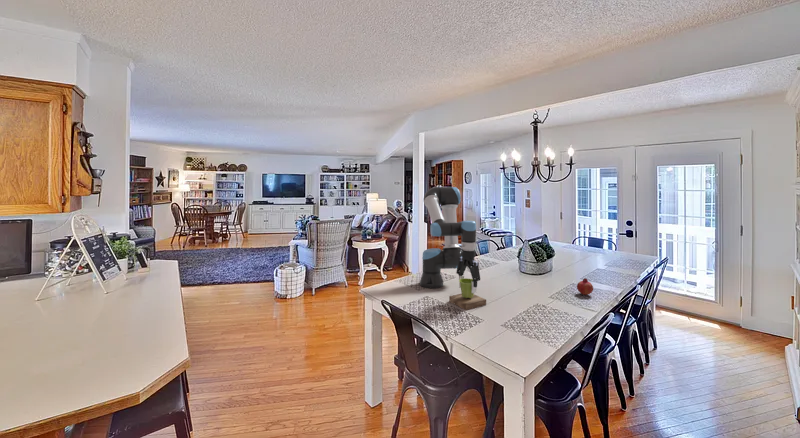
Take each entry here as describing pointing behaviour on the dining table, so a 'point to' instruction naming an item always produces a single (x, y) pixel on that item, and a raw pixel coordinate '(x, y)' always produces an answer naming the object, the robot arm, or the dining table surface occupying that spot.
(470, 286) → the plant pot
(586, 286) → the fruit
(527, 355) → the dining table surface
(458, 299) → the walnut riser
